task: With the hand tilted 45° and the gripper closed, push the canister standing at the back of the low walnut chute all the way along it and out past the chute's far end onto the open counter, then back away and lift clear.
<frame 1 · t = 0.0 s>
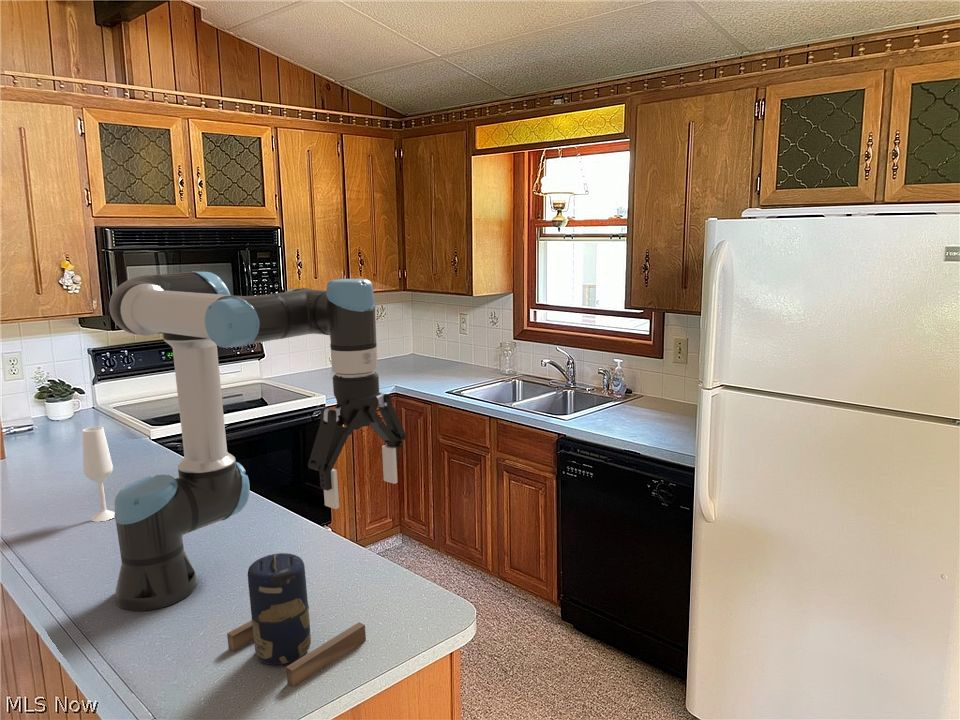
hand: (362, 493, 120), 28 cm above the worktop, tool pointing down, fingers open, 13 cm apart
walnut chute: (297, 644, 125), on the worktop
champagne flute: (104, 517, 184), on the worktop
canister: (283, 653, 123), on the worktop
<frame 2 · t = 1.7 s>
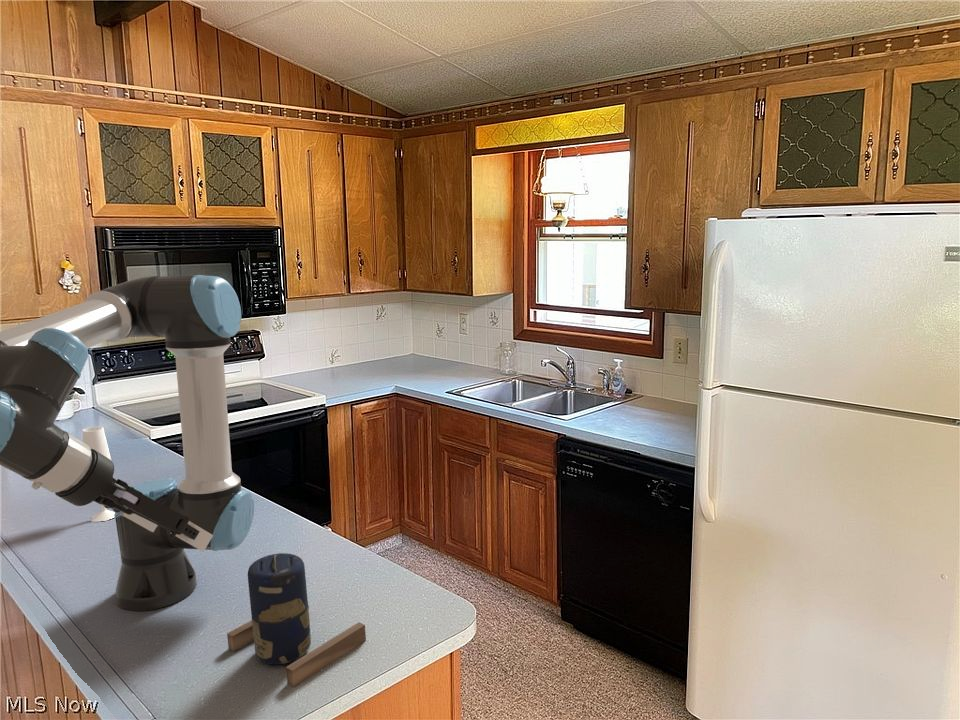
hand: (181, 533, 112), 26 cm above the worktop, tool tilted 45°, fingers open, 13 cm apart
nothing on the worktop moved.
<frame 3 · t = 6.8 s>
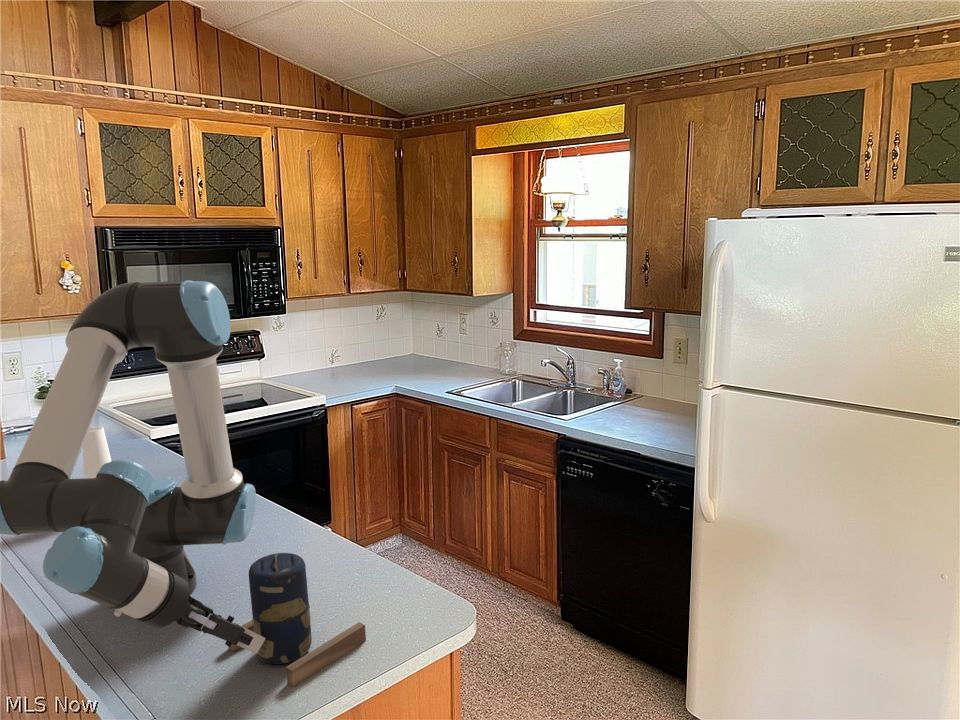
hand: (258, 644, 117), 5 cm above the worktop, tool tilted 45°, fingers closed
canister: (284, 653, 123), on the worktop, touching gripper
everything else where it was.
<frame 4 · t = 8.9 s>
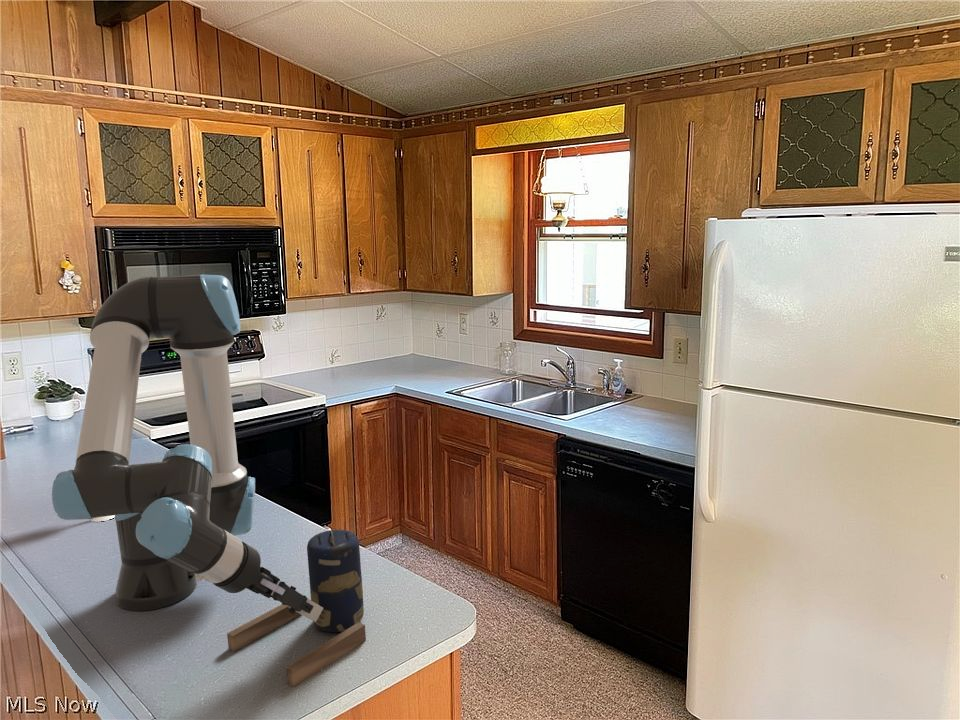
hand: (316, 613, 126), 5 cm above the worktop, tool tilted 45°, fingers closed
canister: (338, 623, 132), on the worktop, touching gripper
everything else where it was.
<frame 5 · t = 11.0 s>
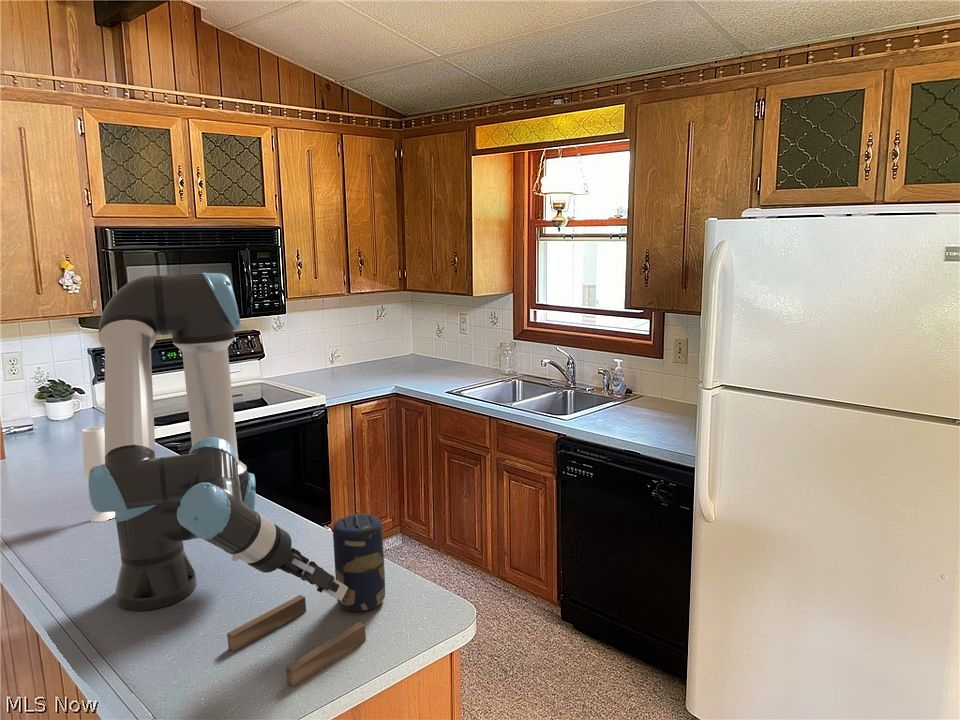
hand: (342, 592, 133), 5 cm above the worktop, tool tilted 45°, fingers closed
canister: (361, 603, 139), on the worktop, touching gripper
everything else where it was.
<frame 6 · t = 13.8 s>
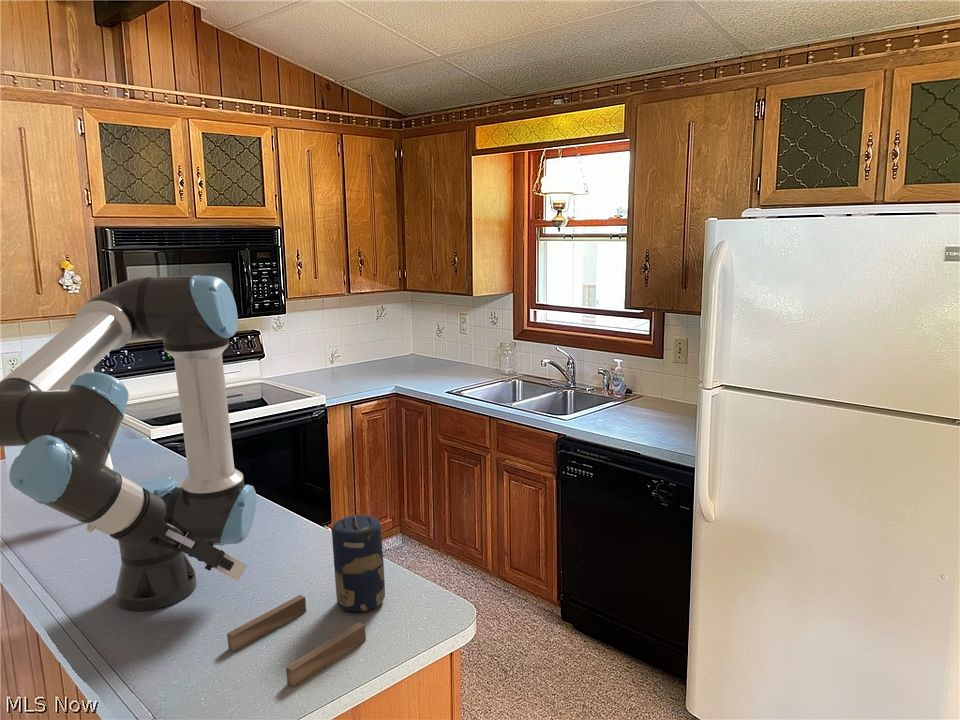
hand: (240, 571, 114), 18 cm above the worktop, tool tilted 45°, fingers closed
canister: (361, 603, 139), on the worktop
everything else where it was.
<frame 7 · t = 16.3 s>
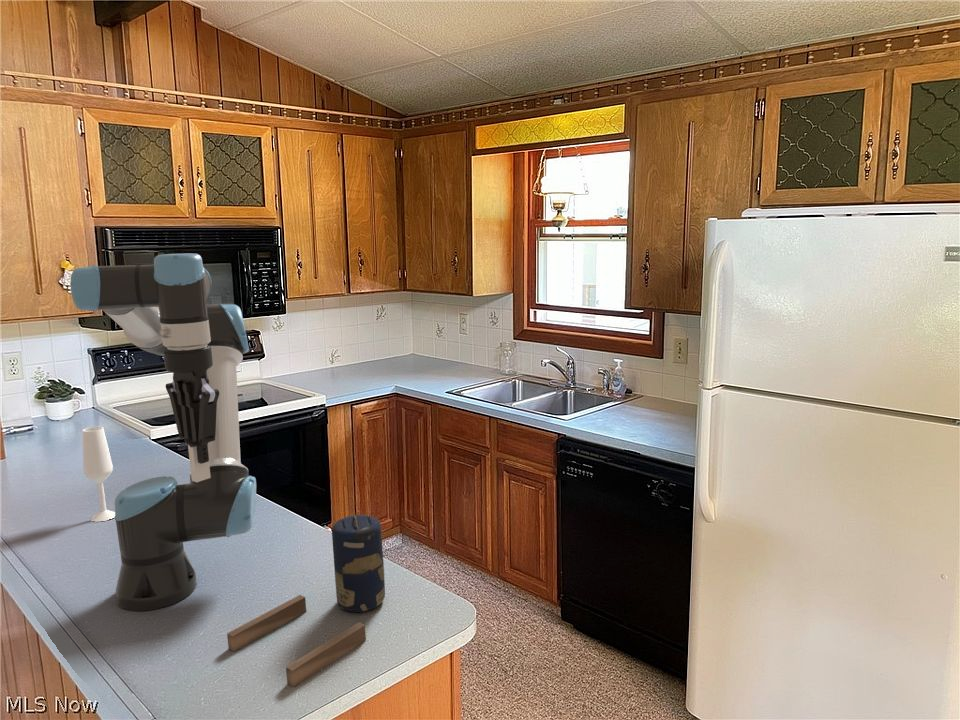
hand: (201, 479, 122), 30 cm above the worktop, tool pointing down, fingers closed
nothing on the worktop moved.
at the end: canister inside the target area (1.2 cm from its centre), on the worktop; canister tilted 0°; canister moved 19.4 cm from its start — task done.
